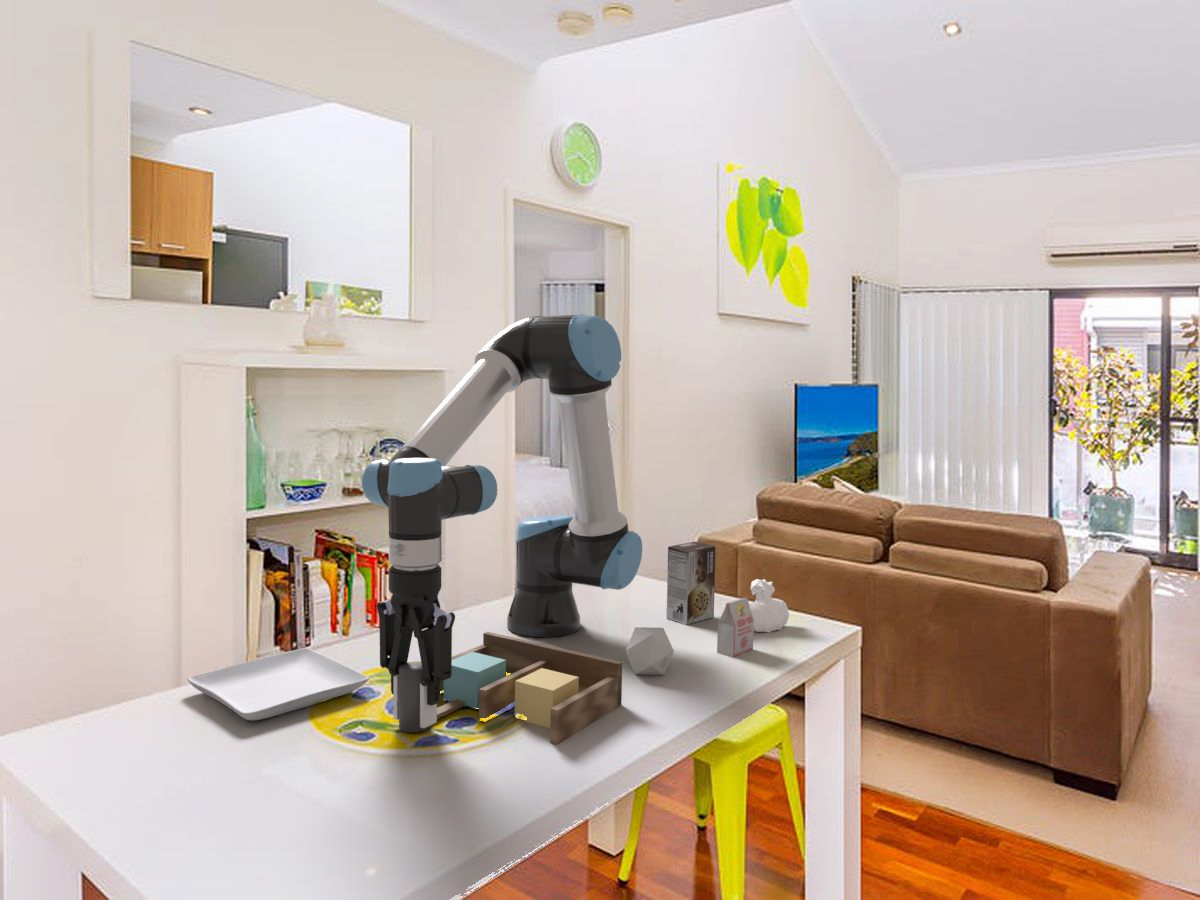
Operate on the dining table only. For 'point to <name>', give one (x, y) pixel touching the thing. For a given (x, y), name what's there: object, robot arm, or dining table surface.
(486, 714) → the lane rack
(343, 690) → the salad plate
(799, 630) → the dining table surface
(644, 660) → the die
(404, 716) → the block
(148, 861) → the dining table surface
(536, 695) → the block
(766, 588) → the bust
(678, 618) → the food box
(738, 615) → the white gable top carton
